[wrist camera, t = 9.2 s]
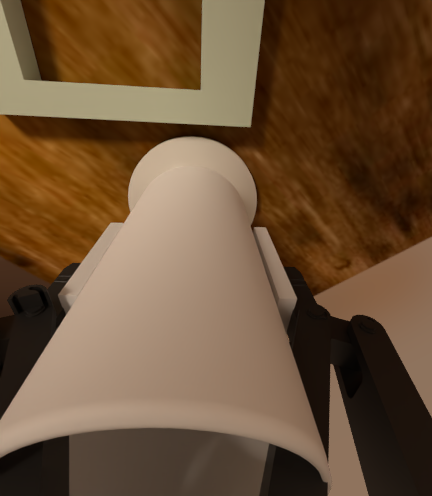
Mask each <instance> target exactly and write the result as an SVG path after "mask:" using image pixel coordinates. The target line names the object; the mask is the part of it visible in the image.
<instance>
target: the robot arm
mask: <svg viewBox="0 0 432 496" xmlns="http://www.w3.org/2000/svg"><path fill="white" fill-rule="evenodd" d="M122 226H123V223H110V225H109V226H108V227H107V229H106V230H105V231H104V233H103V234H102V236H101V237H100V238H99V240H98V241H97V242H96V244H95V245H94V246H93V248H92V249H91V251H90V252H89V253H88V255H87V256H86V257H85V259H84V260H83V262H82V263H72V264H70V265H69V266H67V267H66V268H64V269H63V271H62V272H61V273H60V274H59V277H57V278H56V279H55V281H54V282H53V283H52V284H51V286H50V287H49V288H48V289H46V287H44V286H42V285H29V286H26V287H23V288H21V289H19V290H17V291H15V292H14V293H13V294H11V295H10V297H9V298H8V300H7V301H8V303H9V305H10V306H11V308H12V310H13V312H14V314H15V315H12V316H7V317H2V318H0V420H1V418H2V416H3V415H4V413H5V412H6V410H7V408H8V407H9V405H10V404H11V402H12V400H13V399H14V397H15V396H16V394H17V392H18V391H19V389H20V388H21V386H22V385H23V383H24V381H25V380H26V378H27V377H28V375H29V373H30V372H31V370H32V369H33V367H34V365H35V364H36V362H37V361H38V359H39V357H40V356H41V354H42V353H43V351H44V349H45V348H46V346H47V345H48V343H49V341H50V340H51V338H52V337H53V335H54V333H55V332H56V330H57V329H58V327H59V326H60V324H61V322H62V321H63V319H64V318H65V316H66V314H67V313H68V311H69V310H70V308H71V307H72V305H73V303H74V302H75V300H76V299H77V297H78V295H79V294H80V292H81V291H82V289H83V287H84V286H85V284H86V283H87V281H88V280H89V278H90V276H91V275H92V273H93V272H94V270H95V268H96V267H97V265H98V264H99V262H100V260H101V259H102V257H103V256H104V254H105V253H106V251H107V249H108V248H109V246H110V245H111V243H112V241H113V240H114V238H115V237H116V235H117V234H118V232H119V230H120V229H121V227H122ZM253 235H254V238H255V241H256V244H257V247H258V250H259V253H260V256H261V259H262V262H263V265H264V268H265V271H266V274H267V277H268V280H269V283H270V286H271V289H272V292H273V295H274V299H275V302H276V305H277V308H278V311H279V314H280V317H281V320H282V323H283V326H284V329H285V332H286V335H288V338H289V340H290V342H289V344H290V347H291V350H292V353H293V356H294V359H295V362H296V365H297V368H298V371H299V374H300V377H301V380H302V383H303V386H304V389H305V392H306V396H307V399H308V402H309V405H310V408H311V411H312V414H313V417H314V420H315V423H316V426H317V429H318V432H319V435H320V438H321V441H322V444H323V447H324V450H325V453H326V457H327V461H328V448H329V402H330V400H329V399H330V364H333V365H334V369H335V372H336V376H337V380H338V384H339V387H340V391H341V394H342V398H343V402H344V406H345V409H346V413H347V417H348V420H349V424H350V428H351V432H352V435H353V439H354V443H355V446H356V450H357V454H358V457H359V461H360V465H361V469H362V472H363V476H364V479H365V483H366V487H367V491H368V494H369V496H432V418H431V416H430V414H429V412H428V410H427V408H426V406H425V404H424V403H423V401H422V399H421V397H420V395H419V393H418V391H417V389H416V387H415V385H414V384H413V382H412V380H411V378H410V376H409V374H408V372H407V370H406V369H405V367H404V365H403V363H402V361H401V359H400V357H399V355H398V353H397V352H396V350H395V348H394V346H393V344H392V342H391V340H390V338H389V337H388V335H387V333H386V331H385V329H384V328H383V326H382V325H381V324H380V323H379V322H377V321H376V320H375V319H373V318H371V317H368V316H364V315H356V316H353V317H352V319H351V321H346V320H342V319H339V318H335V317H332V316H330V313H329V312H328V311H327V310H326V309H325V308H323V307H322V306H320V305H318V304H317V303H316V301H315V299H314V297H313V295H312V293H311V291H310V289H309V288H308V286H307V284H306V282H305V281H304V278H303V276H302V274H301V273H300V272H299V271H298V270H297V269H296V268H295V267H283V265H282V263H281V261H280V259H279V256H278V254H277V252H276V249H275V247H274V245H273V243H272V240H271V238H270V236H269V234H268V231H267V229H266V227H254V232H253ZM0 496H69V435H68V436H62V437H57V438H53V439H49V440H45V441H41V442H37V443H34V444H31V445H28V446H25V447H22V448H20V449H17V450H15V451H13V452H10V453H8V454H6V455H4V456H3V457H1V458H0ZM259 496H328V482H323V480H322V478H321V475H320V473H319V471H318V470H317V469H316V468H315V467H314V466H313V465H312V464H311V463H310V462H308V461H307V460H306V459H304V458H302V457H301V456H299V455H297V454H295V453H293V452H291V451H289V450H287V449H284V448H281V447H279V446H276V445H273V444H270V443H269V447H268V452H267V457H266V462H265V468H264V473H263V478H262V483H261V488H260V493H259Z"/></svg>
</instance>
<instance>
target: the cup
mask: <svg viewBox="0 0 432 496" xmlns="http://www.w3.org/2000/svg"><path fill="white" fill-rule="evenodd" d="M68 435H69V496H259V493H260V488H261V483H262V478H263V473H264V468H265V462H266V457H267V452H268V447H269V443H270V444H273V445H276V446H279V447H281V448H284V449H287V450H289V451H291V452H293V453H295V454H297V455H299V456H301V457H302V458H304V459H306V460H307V461H308V462H310V463H311V464H312V465H313V466H314V467H315V468H316V469H317V470H318V471H319V473H320V475H321V478H322V480H323V482H328V494H329V492H330V490H331V484H332V480H331V474H330V470H329V466H328V461H327V457H326V453H325V450H324V447H323V444H322V441H321V438H320V435H319V432H318V429H317V426H316V423H315V420H314V417H313V414H312V411H311V408H310V405H309V402H308V399H307V396H306V392H305V389H304V386H303V383H302V380H301V377H300V374H299V371H298V368H297V365H296V362H295V359H294V356H293V353H292V350H291V347H290V344H289V341H288V338H287V335H286V332H285V329H284V326H283V323H282V320H281V317H280V314H279V311H278V308H277V305H276V302H275V299H274V295H273V292H272V289H271V286H270V283H269V280H268V277H267V274H266V271H265V268H264V265H263V262H262V259H261V256H260V253H259V250H258V247H257V244H256V241H255V238H254V235H253V232H252V229H251V226H250V223H249V220H248V217H247V214H246V211H245V208H244V205H243V202H242V199H241V197H240V195H239V193H238V191H237V190H236V189H235V187H234V186H233V185H232V184H231V183H230V182H229V181H228V180H227V179H226V178H225V177H223V176H222V175H220V174H218V173H217V172H215V171H212V170H210V169H207V168H203V167H197V166H182V167H177V168H173V169H170V170H168V171H166V172H164V173H162V174H160V175H159V176H157V177H156V178H155V179H154V180H153V181H152V182H151V183H150V184H149V185H148V186H147V188H146V189H145V191H144V192H143V194H142V195H141V197H140V199H139V200H138V202H137V203H136V205H135V207H134V208H133V210H132V211H131V213H130V214H129V216H128V218H127V219H126V221H125V222H124V224H123V226H122V227H121V229H120V230H119V232H118V234H117V235H116V237H115V238H114V240H113V241H112V243H111V245H110V246H109V248H108V249H107V251H106V253H105V254H104V256H103V257H102V259H101V260H100V262H99V264H98V265H97V267H96V268H95V270H94V272H93V273H92V275H91V276H90V278H89V280H88V281H87V283H86V284H85V286H84V287H83V289H82V291H81V292H80V294H79V295H78V297H77V299H76V300H75V302H74V303H73V305H72V307H71V308H70V310H69V311H68V313H67V314H66V316H65V318H64V319H63V321H62V322H61V324H60V326H59V327H58V329H57V330H56V332H55V333H54V335H53V337H52V338H51V340H50V341H49V343H48V345H47V346H46V348H45V349H44V351H43V353H42V354H41V356H40V357H39V359H38V361H37V362H36V364H35V365H34V367H33V369H32V370H31V372H30V373H29V375H28V377H27V378H26V380H25V381H24V383H23V385H22V386H21V388H20V389H19V391H18V392H17V394H16V396H15V397H14V399H13V400H12V402H11V404H10V405H9V407H8V408H7V410H6V412H5V413H4V415H3V416H2V418H1V420H0V458H1V457H3V456H4V455H6V454H8V453H10V452H13V451H15V450H17V449H20V448H22V447H25V446H28V445H31V444H34V443H37V442H41V441H45V440H49V439H53V438H57V437H62V436H68Z"/></svg>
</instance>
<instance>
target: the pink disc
mask: <svg viewBox="0 0 432 496" xmlns="http://www.w3.org/2000/svg"><path fill="white" fill-rule="evenodd" d="M182 166H197V167H203V168H207V169H210V170H212V171H215V172H217V173H218V174H220V175H222V176H223V177H225V178H226V179H227V180H228V181H229V182H230V183H231V184H232V185H233V186H234V187H235V189H236V190H237V191H238V193H239V195H240V197H241V199H242V202H243V205H244V208H245V211H246V214H247V217H248V220H249V223H250V226H251V224H252V222H253V219H254V216H255V212H256V206H257V193H256V188H255V184H254V181H253V178H252V176H251V174H250V172H249V170H248V168H247V166H246V165H245V163H244V162H243V161H242V159H241V158H240V157H239V156H238V155H237V154H236V153H235V152H234V151H233V150H231V149H230V148H229V147H227V146H226V145H224V144H222V143H220V142H218V141H216V140H213V139H210V138H206V137H201V136H181V137H175V138H172V139H169V140H166V141H164V142H162V143H160V144H158V145H157V146H155V147H154V148H153V149H151V150H150V151H149V152H148V153H147V154H146V155H145V156H144V157H143V158H142V159H141V161H140V162H139V163H138V165H137V166H136V168H135V170H134V172H133V174H132V177H131V180H130V184H129V192H128V200H129V207H130V212H131V211H132V210H133V208H134V207H135V205H136V203H137V202H138V200H139V199H140V197H141V195H142V194H143V192H144V191H145V189H146V188H147V186H148V185H149V184H150V183H151V182H152V181H153V180H154V179H155V178H156V177H157V176H159V175H160V174H162V173H164V172H166V171H168V170H170V169H173V168H177V167H182Z"/></svg>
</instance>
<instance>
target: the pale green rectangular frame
mask: <svg viewBox="0 0 432 496" xmlns="http://www.w3.org/2000/svg"><path fill="white" fill-rule="evenodd" d="M264 3H265V0H202V47H201V90H187V89H170V88H153V87H136V86H120V85H103V84H86V83H69V82H52V81H42V80H41V76H40V73H39V69H38V65H37V61H36V57H35V54H34V50H33V46H32V42H31V38H30V35H29V31H28V27H27V23H26V19H25V16H24V12H23V8H22V4H21V1H20V0H0V114H6V115H26V116H45V117H64V118H83V119H102V120H122V121H141V122H160V123H179V124H199V125H218V126H237V127H251V119H252V110H253V101H254V92H255V83H256V74H257V66H258V57H259V48H260V39H261V30H262V21H263V12H264Z"/></svg>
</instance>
